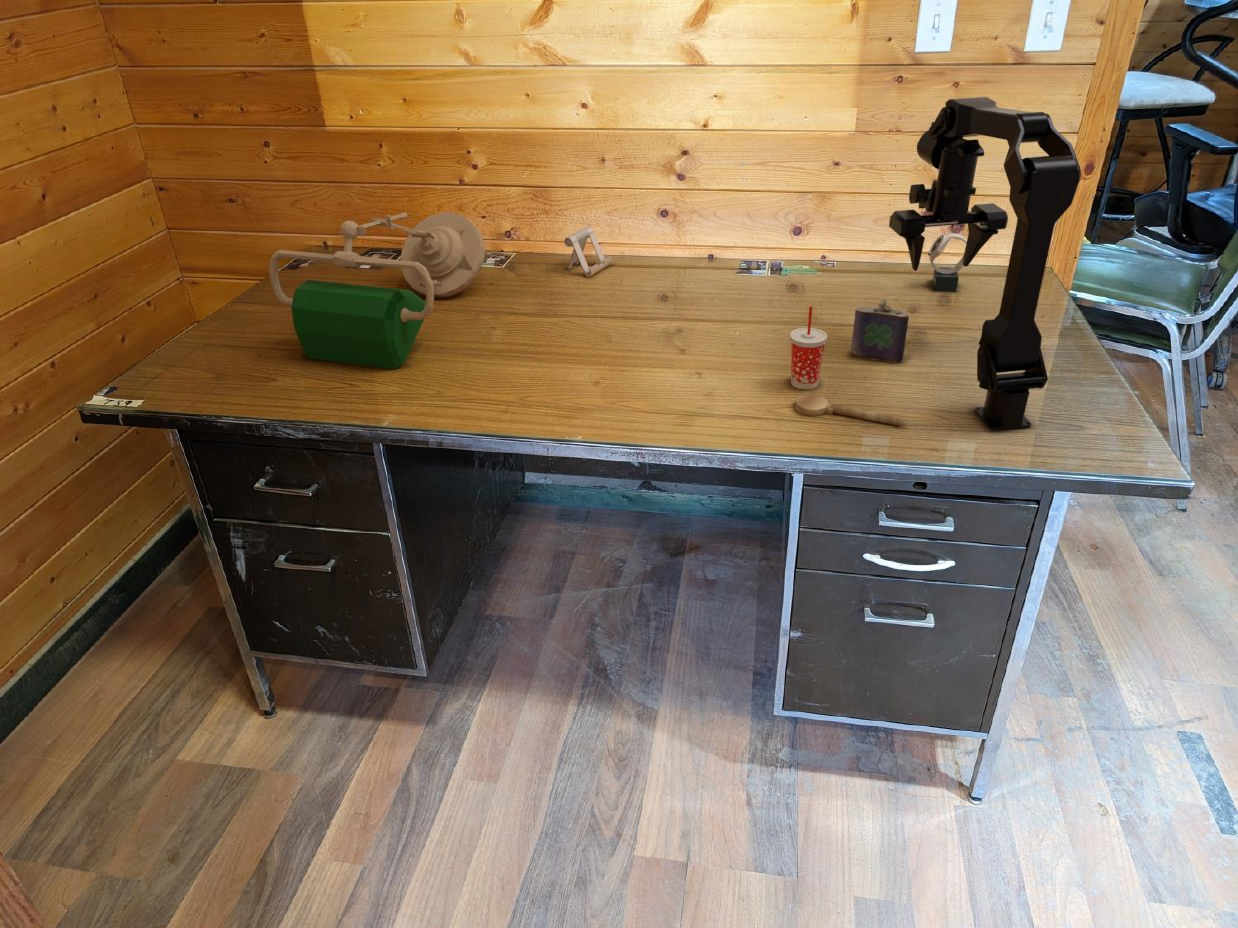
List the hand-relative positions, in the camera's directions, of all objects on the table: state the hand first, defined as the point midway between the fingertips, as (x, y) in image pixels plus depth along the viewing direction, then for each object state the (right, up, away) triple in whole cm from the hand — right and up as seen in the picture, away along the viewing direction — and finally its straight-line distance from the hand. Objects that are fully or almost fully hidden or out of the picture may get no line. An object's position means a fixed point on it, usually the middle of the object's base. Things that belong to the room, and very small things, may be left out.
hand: (939, 268), depth 157 cm
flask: (-10, -15, +4) cm, 19 cm away
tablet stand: (-63, +10, +47) cm, 79 cm away
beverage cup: (-24, -21, -3) cm, 32 cm away
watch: (+12, +3, +31) cm, 33 cm away
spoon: (-20, -26, -13) cm, 35 cm away
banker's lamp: (-99, -4, +28) cm, 103 cm away
